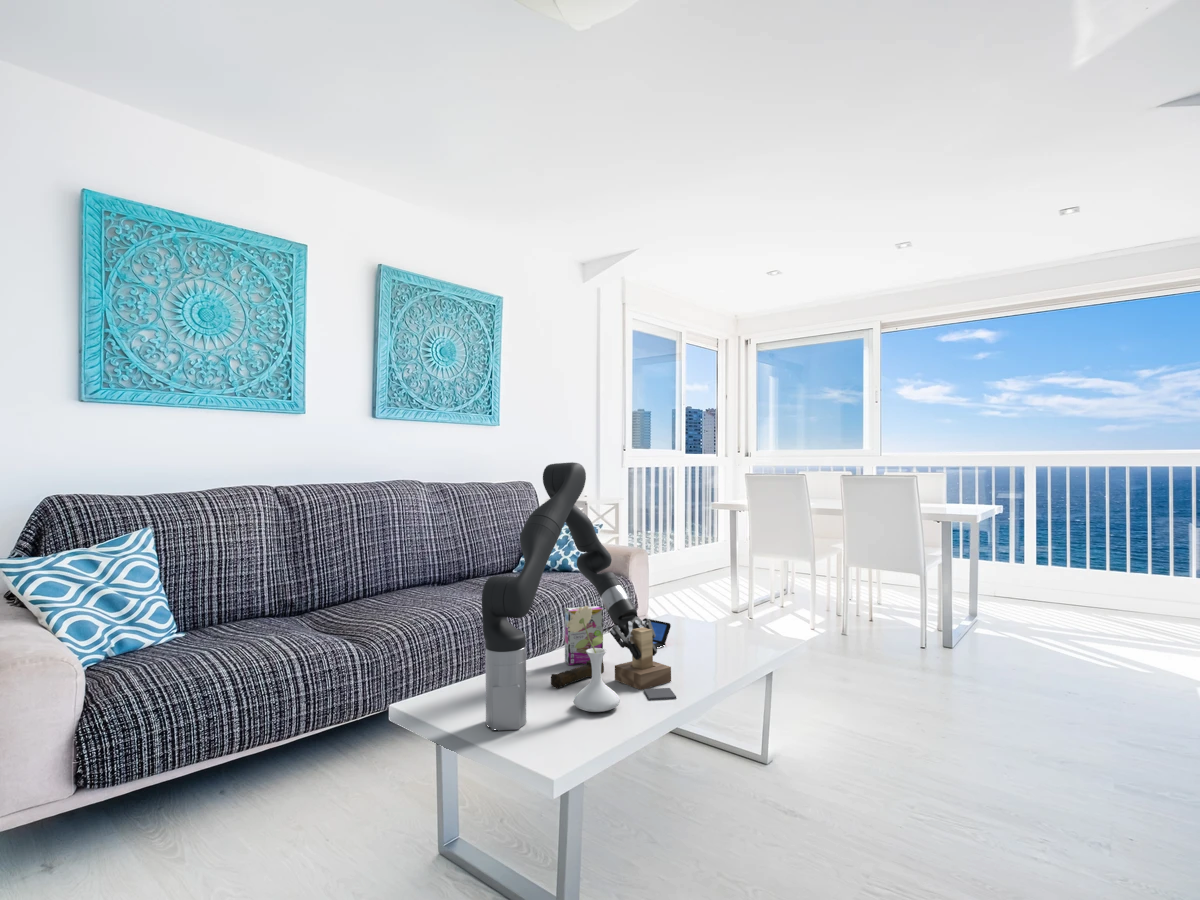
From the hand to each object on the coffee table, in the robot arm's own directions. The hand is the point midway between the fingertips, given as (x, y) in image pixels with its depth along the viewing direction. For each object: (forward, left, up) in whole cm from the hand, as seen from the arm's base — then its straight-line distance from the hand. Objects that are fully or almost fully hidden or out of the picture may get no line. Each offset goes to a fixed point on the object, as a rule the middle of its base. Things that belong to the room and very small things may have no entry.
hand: (646, 655), depth 174 cm
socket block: (+2, +1, -7) cm, 7 cm away
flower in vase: (-17, +17, -7) cm, 25 cm away
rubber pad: (-10, -1, -7) cm, 13 cm away
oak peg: (+2, +1, -7) cm, 7 cm away
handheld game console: (+40, -9, -8) cm, 42 cm away
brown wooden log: (+6, +18, -8) cm, 21 cm away
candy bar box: (+23, +15, -7) cm, 28 cm away
